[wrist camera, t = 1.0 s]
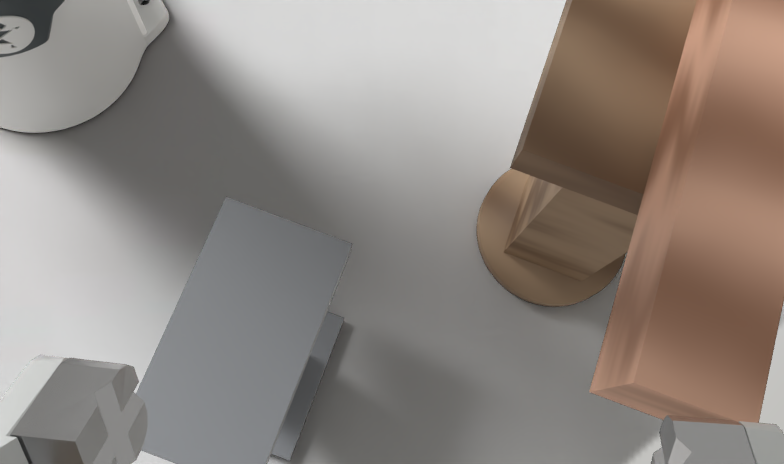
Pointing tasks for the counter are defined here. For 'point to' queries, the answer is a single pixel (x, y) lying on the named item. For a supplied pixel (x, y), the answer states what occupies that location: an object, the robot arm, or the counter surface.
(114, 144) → the counter surface
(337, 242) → the low stand
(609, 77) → the walnut pedestal
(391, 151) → the counter surface
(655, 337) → the block
